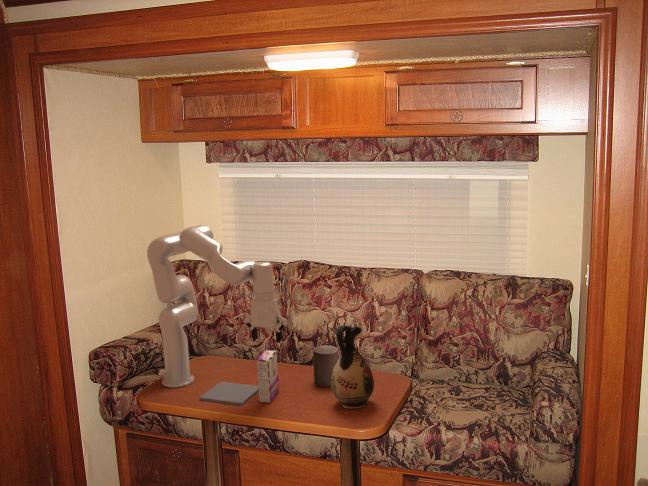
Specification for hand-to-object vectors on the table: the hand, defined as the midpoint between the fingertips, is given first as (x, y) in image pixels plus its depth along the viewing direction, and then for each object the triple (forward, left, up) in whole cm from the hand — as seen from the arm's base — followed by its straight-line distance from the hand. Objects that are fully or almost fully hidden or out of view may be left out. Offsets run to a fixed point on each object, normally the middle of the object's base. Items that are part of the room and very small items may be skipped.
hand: (267, 340), depth 226 cm
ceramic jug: (+32, +2, -22) cm, 39 cm away
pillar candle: (+16, +19, -22) cm, 33 cm away
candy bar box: (0, 0, -22) cm, 22 cm away
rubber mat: (-15, -2, -22) cm, 27 cm away
